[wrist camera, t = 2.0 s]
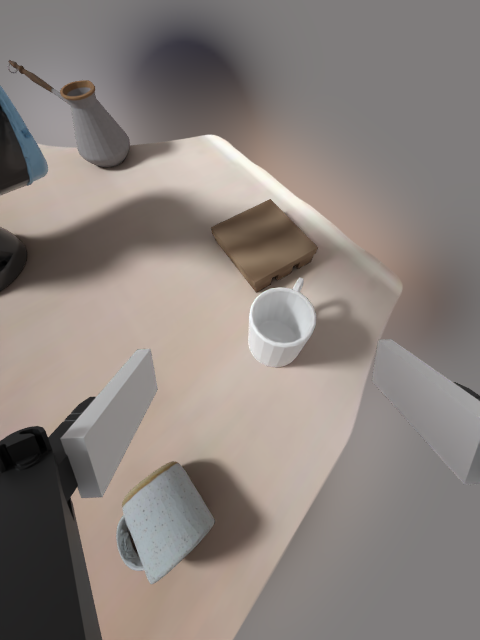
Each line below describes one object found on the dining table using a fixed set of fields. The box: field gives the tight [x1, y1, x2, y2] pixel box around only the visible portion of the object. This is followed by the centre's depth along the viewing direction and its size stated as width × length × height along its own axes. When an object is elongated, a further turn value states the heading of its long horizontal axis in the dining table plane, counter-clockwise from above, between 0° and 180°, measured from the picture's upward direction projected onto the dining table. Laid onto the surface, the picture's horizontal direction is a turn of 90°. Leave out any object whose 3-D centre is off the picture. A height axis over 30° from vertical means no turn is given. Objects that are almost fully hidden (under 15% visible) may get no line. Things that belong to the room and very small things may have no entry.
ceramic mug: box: [116, 462, 215, 584], centre depth 27 cm, size 11×8×8 cm
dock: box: [211, 199, 318, 293], centre depth 45 cm, size 14×13×4 cm
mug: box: [248, 278, 316, 367], centre depth 36 cm, size 8×12×10 cm
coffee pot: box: [8, 60, 130, 167], centre depth 53 cm, size 21×12×15 cm, turn 66°
